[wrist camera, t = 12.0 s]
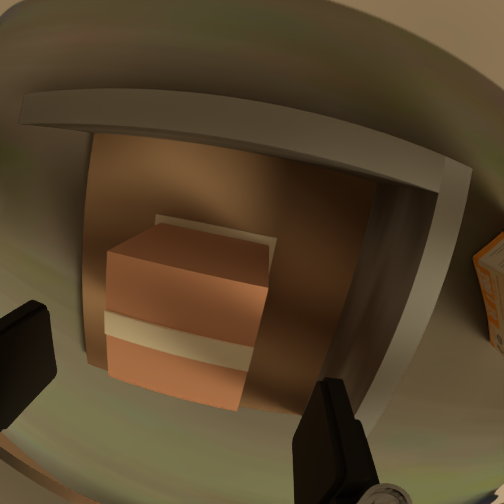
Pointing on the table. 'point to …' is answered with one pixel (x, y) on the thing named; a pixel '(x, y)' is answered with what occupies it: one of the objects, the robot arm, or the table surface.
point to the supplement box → (493, 287)
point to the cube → (185, 312)
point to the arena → (276, 226)
